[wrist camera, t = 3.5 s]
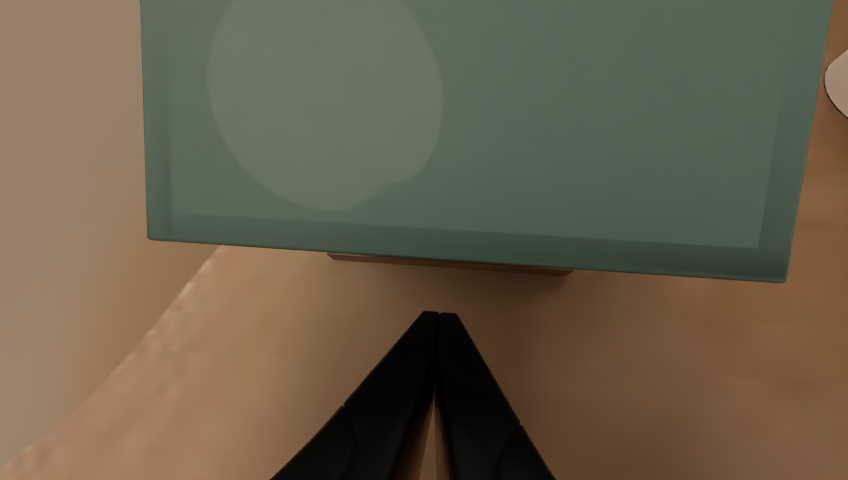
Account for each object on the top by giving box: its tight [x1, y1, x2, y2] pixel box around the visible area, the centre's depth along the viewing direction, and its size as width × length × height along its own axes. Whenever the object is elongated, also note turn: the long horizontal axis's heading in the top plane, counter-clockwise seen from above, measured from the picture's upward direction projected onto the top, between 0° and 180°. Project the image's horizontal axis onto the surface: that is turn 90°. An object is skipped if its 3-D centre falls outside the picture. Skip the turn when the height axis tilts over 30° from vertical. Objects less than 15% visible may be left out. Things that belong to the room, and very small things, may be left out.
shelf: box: [140, 0, 833, 283], centre depth 11 cm, size 6×11×12 cm, turn 86°
